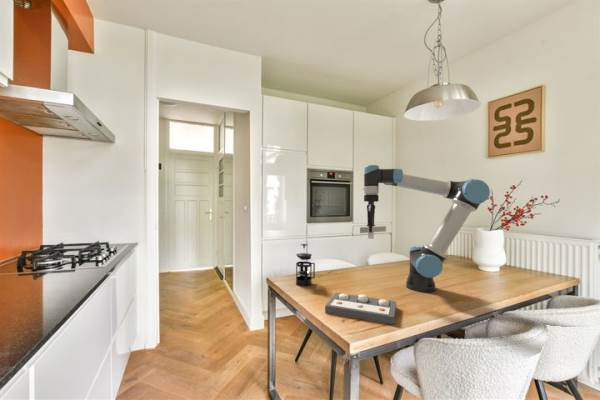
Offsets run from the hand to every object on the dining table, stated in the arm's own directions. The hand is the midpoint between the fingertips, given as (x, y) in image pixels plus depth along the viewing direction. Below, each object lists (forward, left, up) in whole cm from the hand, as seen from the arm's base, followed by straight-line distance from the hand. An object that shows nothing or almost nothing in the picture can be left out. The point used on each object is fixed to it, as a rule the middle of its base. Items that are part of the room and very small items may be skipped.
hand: (370, 238), depth 144 cm
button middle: (0, +23, -27) cm, 35 cm away
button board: (0, +27, -28) cm, 39 cm away
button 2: (-9, +23, -28) cm, 37 cm away
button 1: (+9, +23, -28) cm, 37 cm away
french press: (+37, +2, -29) cm, 47 cm away
